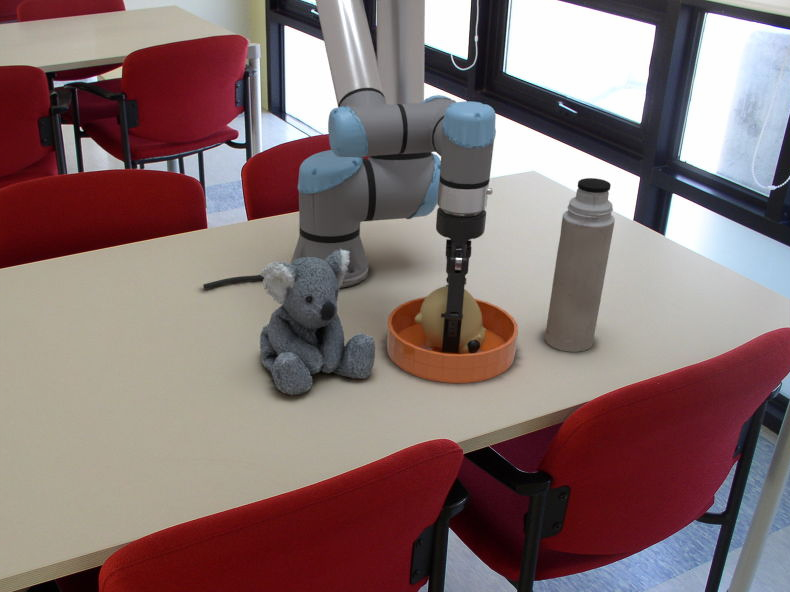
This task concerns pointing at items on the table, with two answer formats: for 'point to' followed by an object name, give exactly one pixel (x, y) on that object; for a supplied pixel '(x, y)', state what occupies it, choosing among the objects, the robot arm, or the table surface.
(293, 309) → the koala plush
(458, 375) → the pan
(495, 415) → the table surface
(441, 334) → the beige pug toy
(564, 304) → the thermos bottle
